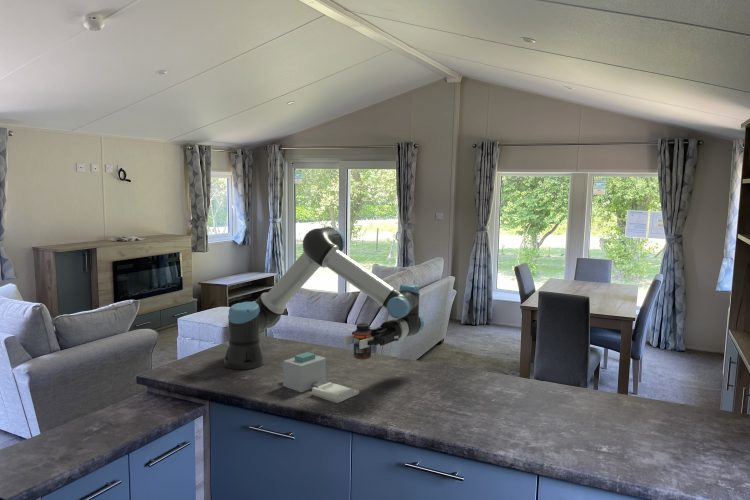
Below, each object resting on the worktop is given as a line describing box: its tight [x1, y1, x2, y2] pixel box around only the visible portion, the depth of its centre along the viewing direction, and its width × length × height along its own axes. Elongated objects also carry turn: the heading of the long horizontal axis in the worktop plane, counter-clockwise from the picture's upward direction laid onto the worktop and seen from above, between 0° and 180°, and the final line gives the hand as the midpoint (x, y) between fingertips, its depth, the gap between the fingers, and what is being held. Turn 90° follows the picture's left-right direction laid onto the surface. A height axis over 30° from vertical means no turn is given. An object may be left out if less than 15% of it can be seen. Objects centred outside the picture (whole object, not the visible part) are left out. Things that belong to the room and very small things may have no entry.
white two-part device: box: [282, 351, 360, 404], centre depth 183 cm, size 28×12×11 cm, turn 52°
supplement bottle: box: [353, 323, 372, 360], centre depth 180 cm, size 6×6×11 cm
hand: (352, 343), depth 176 cm, fingers closed on supplement bottle, 6 cm apart
